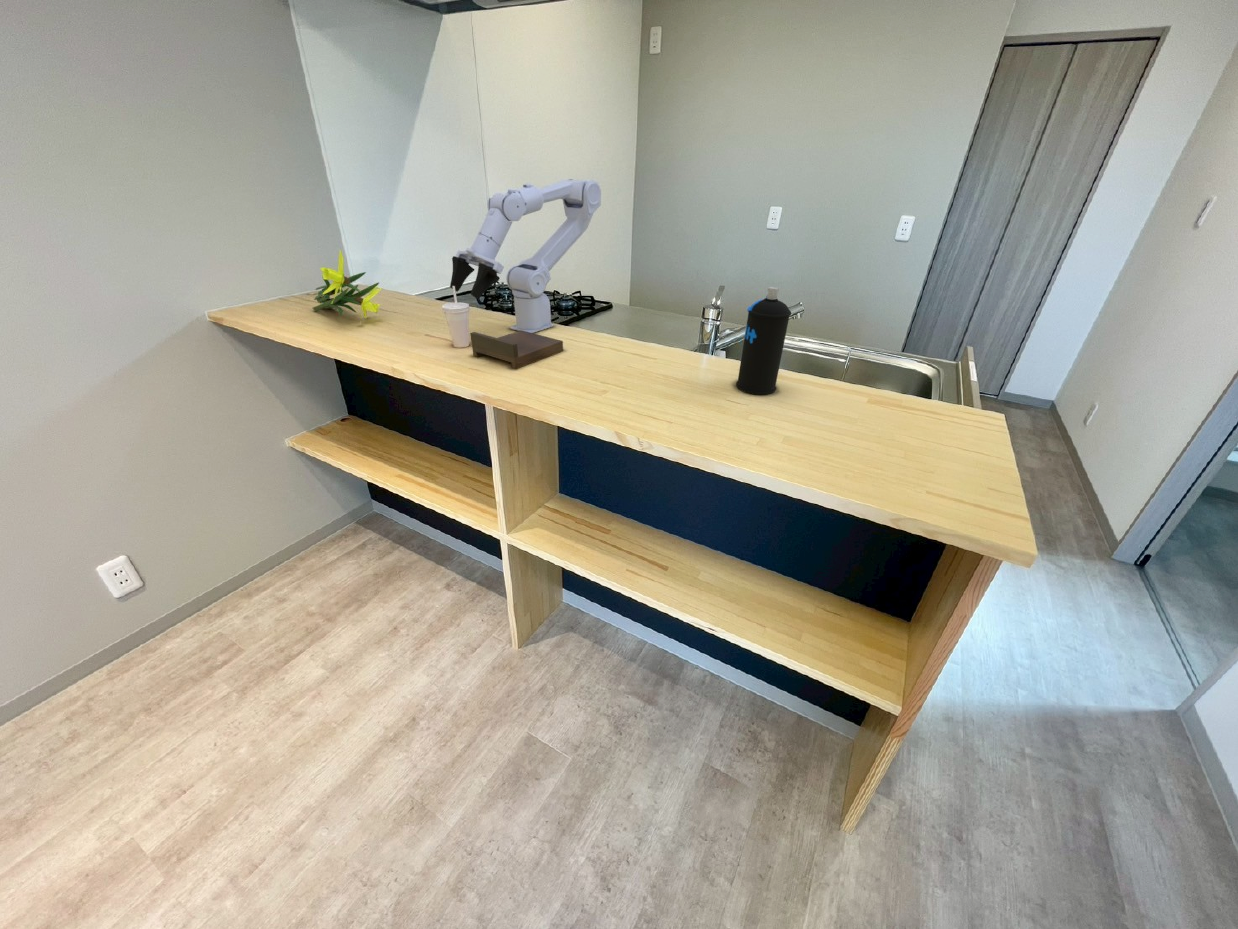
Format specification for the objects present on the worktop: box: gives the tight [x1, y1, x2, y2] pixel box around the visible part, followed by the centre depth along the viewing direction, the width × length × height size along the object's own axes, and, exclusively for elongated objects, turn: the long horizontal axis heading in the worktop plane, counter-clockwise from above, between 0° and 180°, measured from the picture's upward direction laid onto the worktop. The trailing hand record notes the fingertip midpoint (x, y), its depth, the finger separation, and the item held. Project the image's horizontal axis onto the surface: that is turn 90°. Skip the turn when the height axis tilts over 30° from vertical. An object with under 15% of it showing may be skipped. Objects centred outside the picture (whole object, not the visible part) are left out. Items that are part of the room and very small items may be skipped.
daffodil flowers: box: [311, 249, 383, 326], centre depth 136 cm, size 17×15×35 cm
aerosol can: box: [735, 286, 792, 396], centre depth 97 cm, size 8×8×20 cm
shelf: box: [469, 330, 564, 370], centre depth 116 cm, size 16×14×6 cm
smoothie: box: [441, 286, 471, 349], centre depth 118 cm, size 6×6×14 cm
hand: (463, 293), depth 117 cm, fingers open, 7 cm apart
